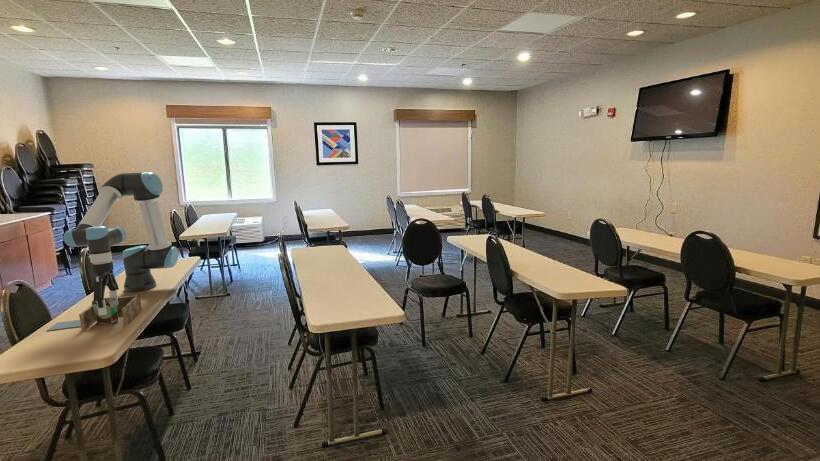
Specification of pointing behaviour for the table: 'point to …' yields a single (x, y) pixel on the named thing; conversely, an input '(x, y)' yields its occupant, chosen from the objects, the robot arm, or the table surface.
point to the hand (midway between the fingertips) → (109, 309)
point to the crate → (126, 306)
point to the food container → (111, 311)
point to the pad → (65, 325)
